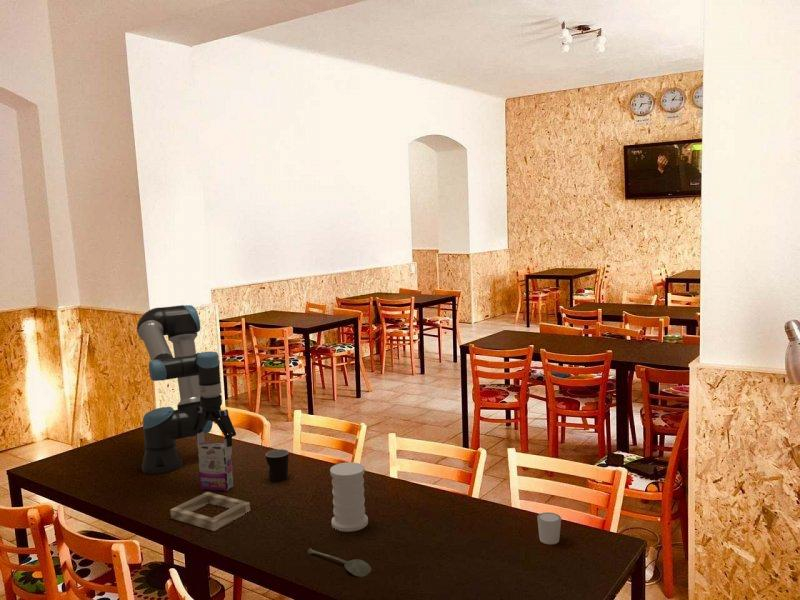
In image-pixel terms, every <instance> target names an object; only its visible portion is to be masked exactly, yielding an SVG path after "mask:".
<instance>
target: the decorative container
mask: <svg viewBox="0 0 800 600" xmlns="http://www.w3.org/2000/svg"><path fill="white" fill-rule="evenodd" d="M329 469H330V470H329V474H330V476H331V477H332V479H331V485H332V490H331V491H332V492H331V493H332V496H333V499H332V504H333V509H332V510H333V511H332V513H333V515H334V516H333V517H332V518H331V519H330V520H331V528H332V529H334V528H335V529H334V530H336V529H337V530H336V531H338V530H339V532H343V533H344V532H345V533H346V532H347V533H348V532H349V533H350V532H356V531H360V530H363V529H364V528H366V527H367V526H368V524H369V518H368V515H367V514H366V507H365V502H366V498H365V487H364V484H365V483H364V482H365V479H364V474H365V472H366V469H365V465H363V464H361V463H359V462H353V461H352V462H340V463H337V464H334V465H332V466H331V467H330V468H329Z"/></svg>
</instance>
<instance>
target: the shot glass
mask: <svg viewBox="0 0 800 600" xmlns="http://www.w3.org/2000/svg"><path fill="white" fill-rule="evenodd" d="M536 518H537V527H538V536H539V540H540V542H541V543H543V544H546V545H557V544H558V543H559V542H560V535H561V525H562V517H561V515H559V513H555V512H541V513H539V514H538V515H537V516H536Z"/></svg>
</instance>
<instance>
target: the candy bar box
mask: <svg viewBox="0 0 800 600" xmlns="http://www.w3.org/2000/svg"><path fill="white" fill-rule="evenodd" d="M196 449H197V459H198V470H199V472H198V474H199V485H200V487H199V489H200V490H203V491H217V492H219V491H220V492H229V491H230V490H231V489H233V488H234V472H233V458H232V456H233V455H232V454H231V455H229V456H227V457H226V456H225V451H224V442H222V443H220V442H205V443H202V444H201V445H199V446H198V445H197V447H196Z"/></svg>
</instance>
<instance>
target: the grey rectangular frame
mask: <svg viewBox="0 0 800 600" xmlns="http://www.w3.org/2000/svg"><path fill="white" fill-rule="evenodd" d="M206 504H207V505H213V506H216V505H217V507H220V506H221V507H220V508H224V507H225V508H224V509H226V510H225V511H223V512H221V513H220V514H218V515H215V516H213V517H210V516H207V515H203V514H201V513H197V512H195V511H197V510H199V509H201V508H203V507H204V506H207V505H206ZM227 508H229V509H227ZM169 511H170V518H171V519H172V520H176V521H179V522H183V523H185V524H190V525H191V526H195V527H199V528H202V529H206V530H209V531H213V532H215V531H218V530H219V529H221V528H222V527H224V526H226V525H228V524H230V523H232V522H233V520H234V521H235V520H237V519H239V518H241V517H243V516H244V515H246V514H248V513H249V511H250V512H251V502H249V501H245V500H243V499H242V500H241V499H239V498H234V497H230V496H225V495H223V494H222V495H221V494H217V493H214V492H211V491H206V492H203V493H202V494H200V495H197V496H195V497H193V498H192V499H190V500H188V501H185V502H183V503H181V504H178V505H176V506H175V507H173V508H171V509H170V510H169ZM247 512H248V513H247ZM245 513H246V514H245Z"/></svg>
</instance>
